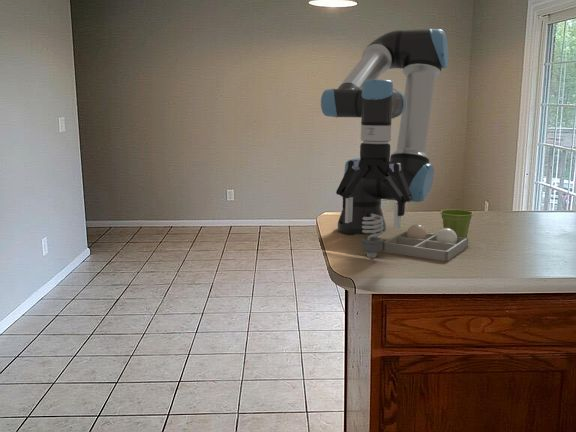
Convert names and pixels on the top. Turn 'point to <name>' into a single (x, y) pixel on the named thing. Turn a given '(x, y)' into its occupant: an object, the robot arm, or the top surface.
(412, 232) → the brown egg
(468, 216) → the plant pot
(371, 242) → the light bulb
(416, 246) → the carton
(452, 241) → the white egg
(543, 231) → the top surface
